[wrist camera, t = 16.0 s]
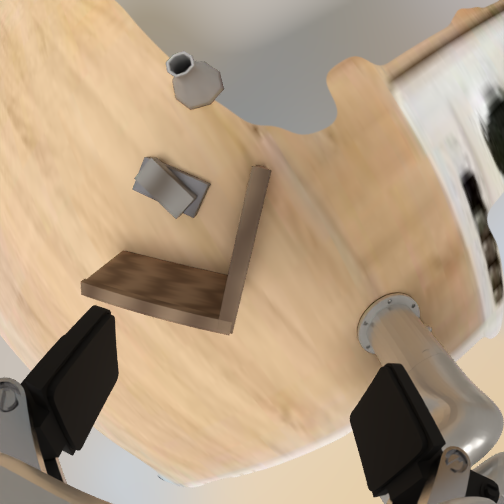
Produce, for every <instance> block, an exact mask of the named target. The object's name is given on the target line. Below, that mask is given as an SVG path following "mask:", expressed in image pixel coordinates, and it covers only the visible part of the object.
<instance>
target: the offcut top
mask: <svg viewBox="0 0 504 504" xmlns="http://www.w3.org/2000/svg"><path fill="white" fill-rule="evenodd" d="M134 179H135V180H136V181H137V182H138V183H139V184H140V185H141V186H143V187H144V188H145V189H146V190H147V191H148V192H149V193H150V194H151V195H152V196H153V197H154V198H155V199H156V200H157V201H158V202H159V203H160V204H161V205H162V206H163V207H164V208H165V209H166V210H167V211H168V212H169V213H170V214H171V215H172V216H173V217H174V218H175V219H177V218H178V217H179V216H180V215H181V214H182V213H183V212H184V211H185V210H186V209H187V208H188V207H189V206H190V205H191V203H192V202H193V201H194V200H195V199H196V198H197V197H198V196H197V195H196V194H195V193H194V192H193V191H191V190H190V189H189V188H188V187H187V186H186V185H185V184H184V183H183V182H182V181H181V180H180V179H179V178H178V177H177V176H176V175H175V174H174V173H173V172H172V171H171V170H170V169H169V168H167V167H166V166H165V165H164V164H163V163H162V162H161V161H160V160H159V159H158V158H150V160H149V161H148V162H147V163H146V164H145V166H144V167H143V168H142V169H141V171H140V172H139V173H138V174H137V176H136V177H135V178H134Z"/></svg>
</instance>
